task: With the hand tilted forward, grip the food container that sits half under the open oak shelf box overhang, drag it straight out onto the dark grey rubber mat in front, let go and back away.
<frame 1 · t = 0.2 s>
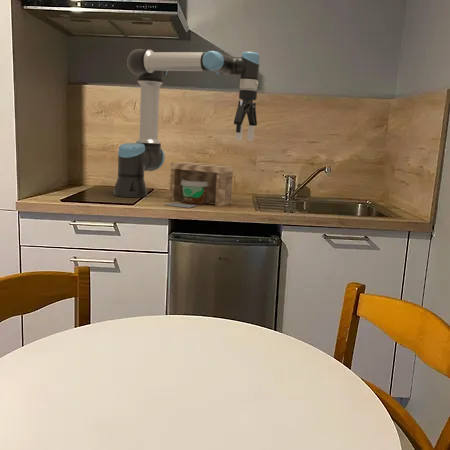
hand: (244, 140, 229), 28 cm above the table, tool pointing down, fingers open, 13 cm apart
grey mat: (181, 205, 218), on the table
food container: (191, 204, 225), on the table
open oak shelf box: (195, 203, 228), on the table
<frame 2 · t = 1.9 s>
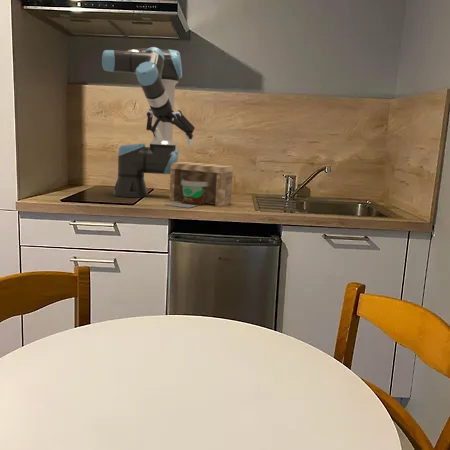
hand: (176, 142, 212), 26 cm above the table, tool tilted 45°, fingers open, 13 cm apart
nothing on the table moved.
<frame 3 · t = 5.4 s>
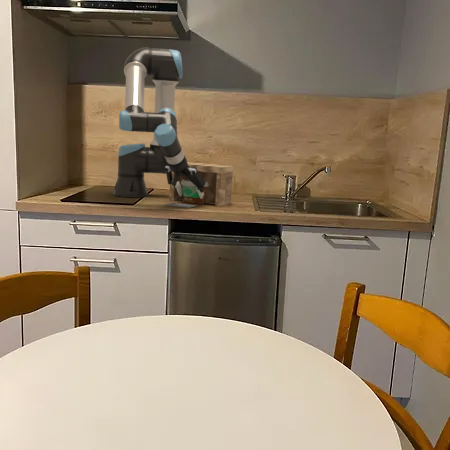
hand: (191, 195, 224), 4 cm above the table, tool tilted 45°, fingers closed on food container, 9 cm apart
food container: (191, 204, 225), on the table, touching gripper
everything else where it was.
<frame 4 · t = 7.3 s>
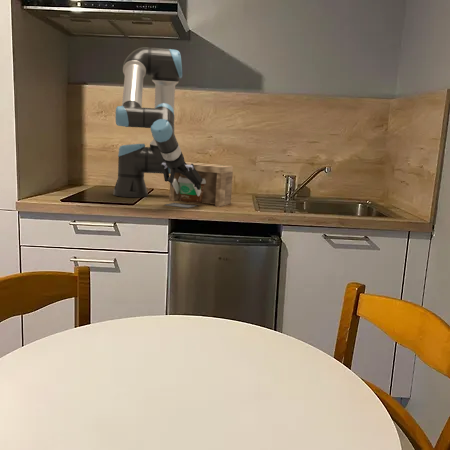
hand: (188, 192, 221), 5 cm above the table, tool tilted 45°, fingers closed on food container, 9 cm apart
food container: (188, 202, 221), point 1 cm above the table, touching gripper
everything else where it was.
when the fingers open (4 cm above the table, at t = 8.9 s): food container stays where it is, resting on grey mat.
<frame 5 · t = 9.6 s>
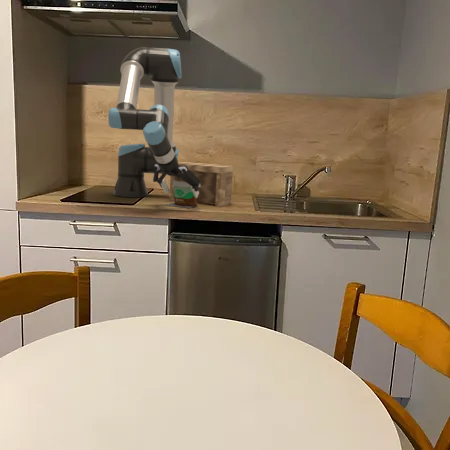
hand: (182, 193, 216), 5 cm above the table, tool tilted 45°, fingers open, 13 cm apart
food container: (183, 205, 217), resting on grey mat
everything else where it was.
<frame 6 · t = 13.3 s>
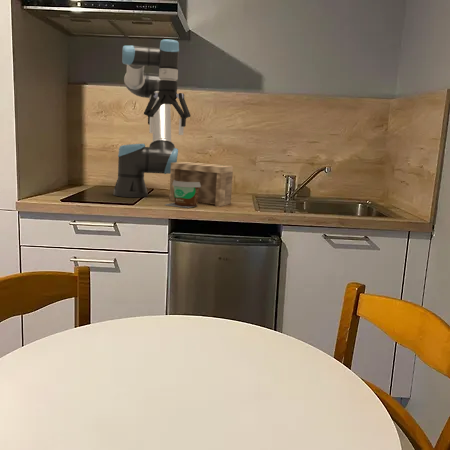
hand: (166, 134, 216), 29 cm above the table, tool pointing down, fingers open, 13 cm apart
nothing on the table moved.
at the end: food container inside the target area (1.0 cm from its centre), resting on grey mat; food container tilted 0°; the gripper is holding nothing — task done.
